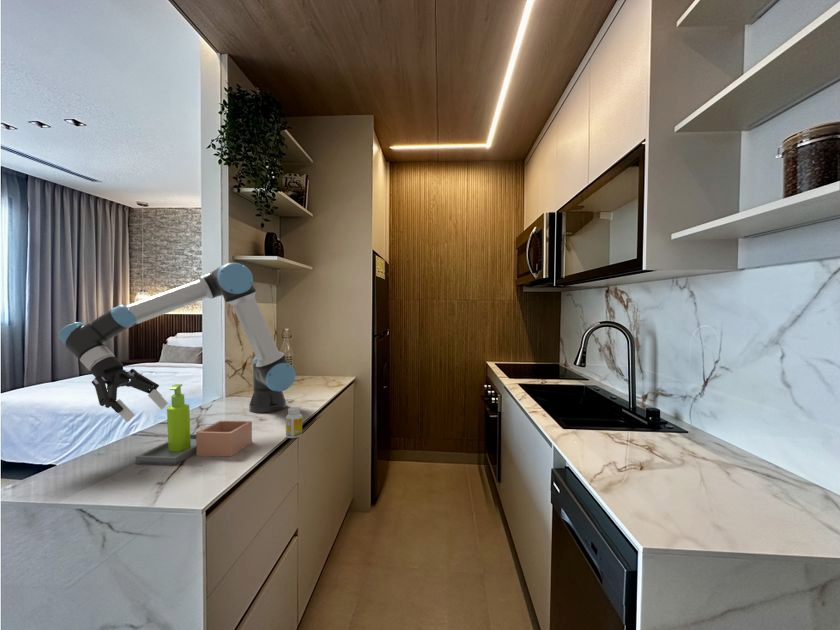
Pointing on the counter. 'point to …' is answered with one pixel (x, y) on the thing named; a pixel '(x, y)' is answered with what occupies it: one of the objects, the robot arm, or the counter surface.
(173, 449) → the soap dispenser
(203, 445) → the terracotta open box
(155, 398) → the robot arm
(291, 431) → the supplement bottle
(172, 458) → the grey tray
